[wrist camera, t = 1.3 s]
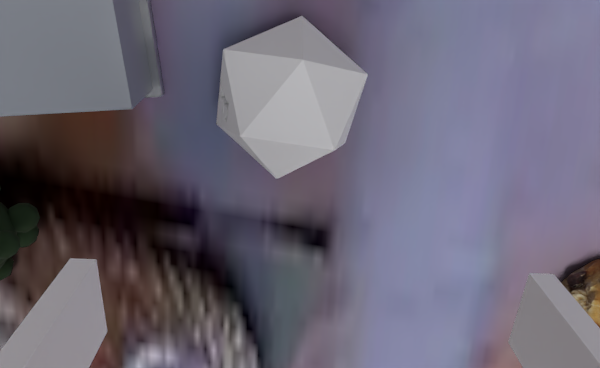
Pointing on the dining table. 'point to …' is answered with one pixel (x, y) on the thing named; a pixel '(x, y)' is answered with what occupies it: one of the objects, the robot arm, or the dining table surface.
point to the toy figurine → (16, 232)
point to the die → (288, 96)
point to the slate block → (76, 56)
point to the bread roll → (586, 288)
